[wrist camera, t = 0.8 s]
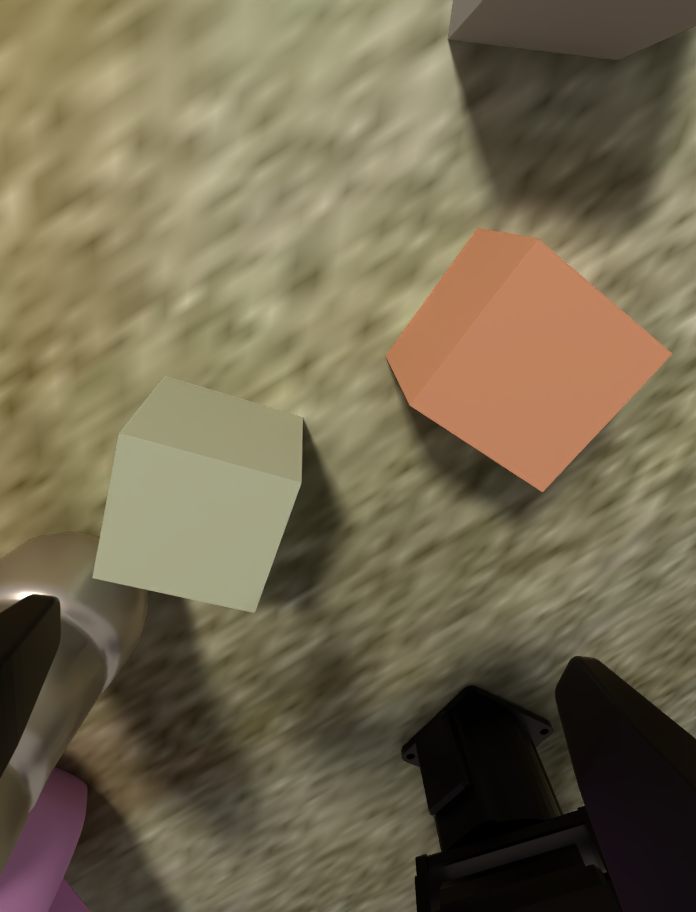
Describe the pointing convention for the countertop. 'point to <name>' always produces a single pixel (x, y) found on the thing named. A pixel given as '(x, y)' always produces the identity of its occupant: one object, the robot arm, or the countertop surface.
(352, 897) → the countertop surface
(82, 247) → the countertop surface
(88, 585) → the plastic bottle
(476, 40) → the slate block
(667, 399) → the countertop surface
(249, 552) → the sage block
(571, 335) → the terracotta block
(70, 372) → the countertop surface
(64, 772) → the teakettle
